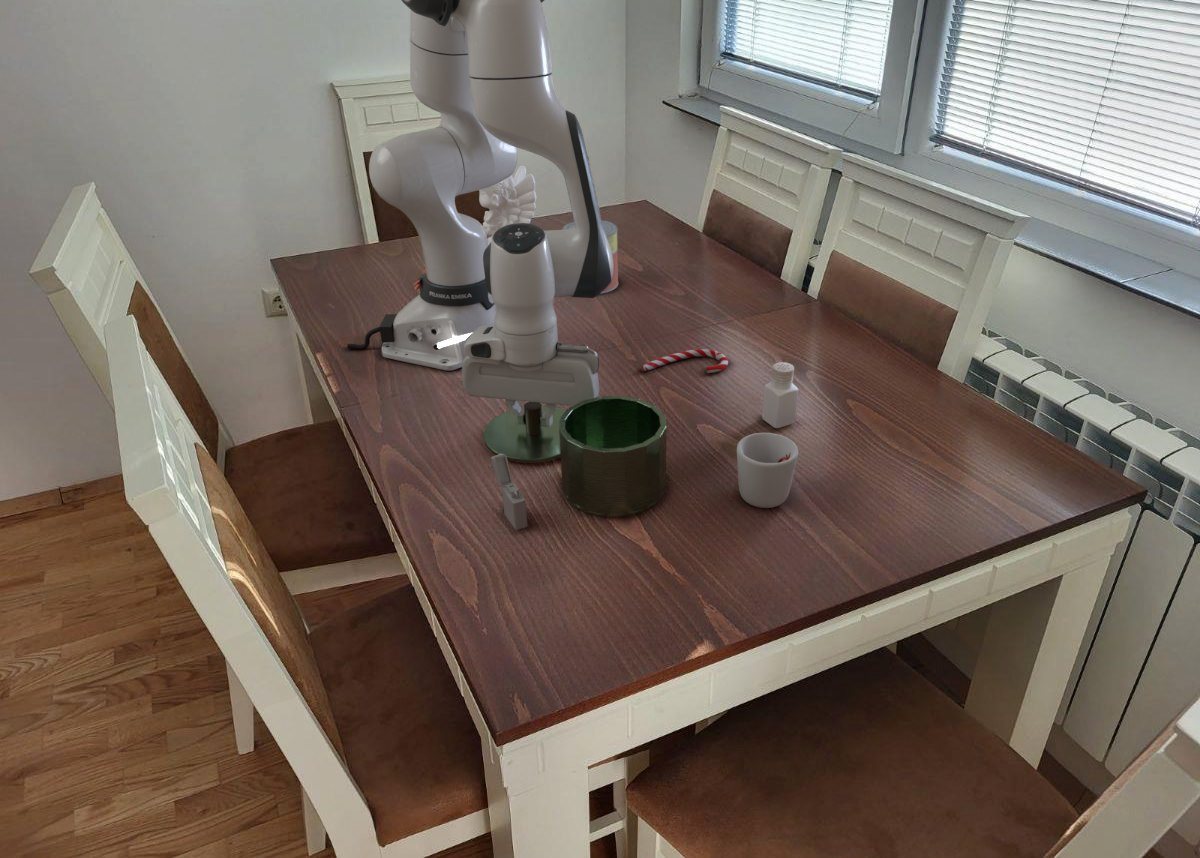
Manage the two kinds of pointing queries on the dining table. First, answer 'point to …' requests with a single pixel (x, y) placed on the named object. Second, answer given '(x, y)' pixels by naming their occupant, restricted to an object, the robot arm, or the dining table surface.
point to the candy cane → (688, 355)
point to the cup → (765, 468)
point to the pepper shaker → (780, 397)
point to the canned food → (611, 235)
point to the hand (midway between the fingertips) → (533, 423)
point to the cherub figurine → (509, 202)
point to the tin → (613, 455)
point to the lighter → (510, 493)
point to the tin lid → (525, 435)
